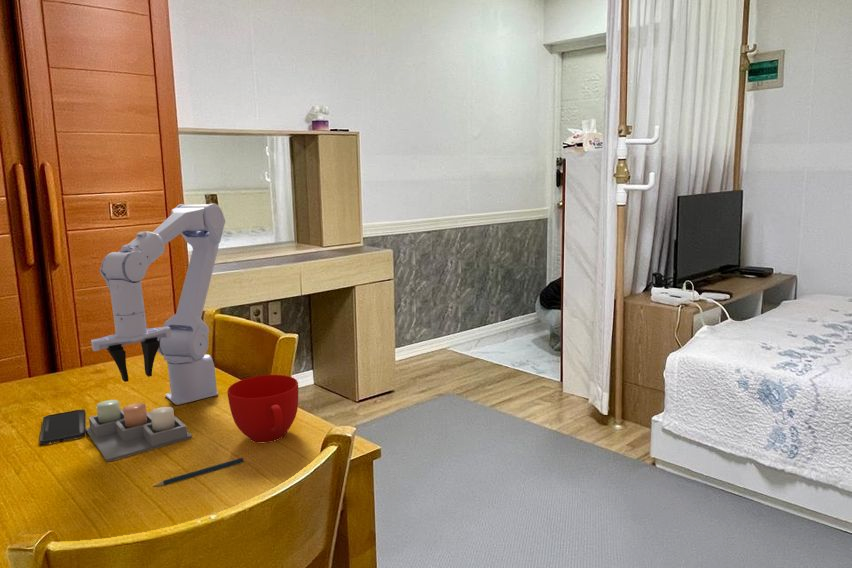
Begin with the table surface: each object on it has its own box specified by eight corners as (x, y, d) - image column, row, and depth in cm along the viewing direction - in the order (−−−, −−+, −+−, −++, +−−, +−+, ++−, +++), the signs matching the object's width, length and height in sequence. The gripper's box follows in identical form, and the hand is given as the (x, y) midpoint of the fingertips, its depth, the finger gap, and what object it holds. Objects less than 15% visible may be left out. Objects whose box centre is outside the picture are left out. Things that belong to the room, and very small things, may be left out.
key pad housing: (163, 410, 139) (161, 399, 139) (192, 438, 125) (190, 425, 125) (85, 430, 130) (83, 418, 130) (107, 462, 116) (105, 448, 116)
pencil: (243, 463, 114) (153, 490, 106) (242, 461, 115) (152, 487, 107) (243, 459, 114) (152, 485, 106) (241, 457, 115) (151, 482, 107)
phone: (85, 408, 141) (85, 433, 127) (85, 413, 141) (85, 438, 128) (42, 416, 137) (38, 442, 124) (43, 421, 137) (39, 447, 124)
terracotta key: (144, 417, 130) (142, 401, 129) (150, 423, 127) (148, 407, 126) (122, 422, 128) (120, 406, 127) (128, 429, 125) (126, 412, 124)
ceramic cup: (245, 465, 113) (240, 410, 111) (226, 431, 128) (221, 382, 126) (317, 448, 119) (313, 395, 117) (291, 417, 134) (287, 370, 132)
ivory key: (171, 421, 128) (169, 405, 127) (177, 427, 125) (176, 411, 124) (150, 426, 125) (148, 410, 125) (156, 433, 122) (154, 416, 122)
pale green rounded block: (118, 413, 133) (116, 398, 132) (123, 419, 129) (121, 403, 129) (96, 419, 130) (94, 403, 130) (101, 425, 127) (99, 408, 126)
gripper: (93, 322, 122) (102, 391, 125) (172, 309, 131) (180, 374, 133) (85, 316, 128) (94, 382, 130) (162, 303, 136) (169, 366, 139)
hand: (137, 377), depth 132 cm, fingers open, 4 cm apart
